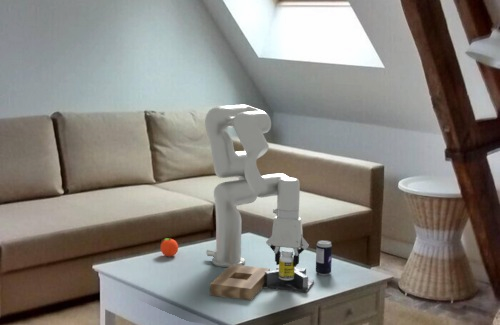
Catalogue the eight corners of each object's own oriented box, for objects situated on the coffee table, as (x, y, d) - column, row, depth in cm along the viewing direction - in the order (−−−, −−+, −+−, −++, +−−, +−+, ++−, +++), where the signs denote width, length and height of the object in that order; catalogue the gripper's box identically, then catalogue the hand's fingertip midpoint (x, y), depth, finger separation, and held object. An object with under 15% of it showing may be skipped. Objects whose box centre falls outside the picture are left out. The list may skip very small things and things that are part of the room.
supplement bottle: (283, 281, 254) (284, 253, 253) (275, 277, 259) (276, 249, 258) (297, 279, 257) (297, 252, 255) (289, 275, 262) (289, 248, 260)
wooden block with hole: (210, 295, 250) (210, 283, 250) (231, 274, 271) (231, 264, 270) (250, 300, 246) (251, 288, 245) (269, 279, 267) (269, 268, 266)
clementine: (154, 256, 292) (154, 238, 291) (166, 251, 297) (166, 234, 296) (170, 259, 287) (170, 242, 286) (181, 255, 293) (181, 238, 292)
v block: (261, 287, 258) (261, 273, 257) (270, 277, 269) (270, 264, 268) (306, 293, 254) (307, 279, 253) (313, 282, 264) (314, 269, 263)
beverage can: (330, 276, 271) (331, 245, 268) (314, 275, 272) (315, 243, 270) (331, 271, 276) (332, 240, 274) (316, 270, 277) (317, 239, 275)
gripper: (260, 214, 253) (260, 265, 256) (309, 218, 248) (308, 270, 251) (267, 209, 260) (266, 259, 263) (315, 213, 255) (313, 264, 258)
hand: (286, 264), depth 257 cm, fingers closed on supplement bottle, 5 cm apart
